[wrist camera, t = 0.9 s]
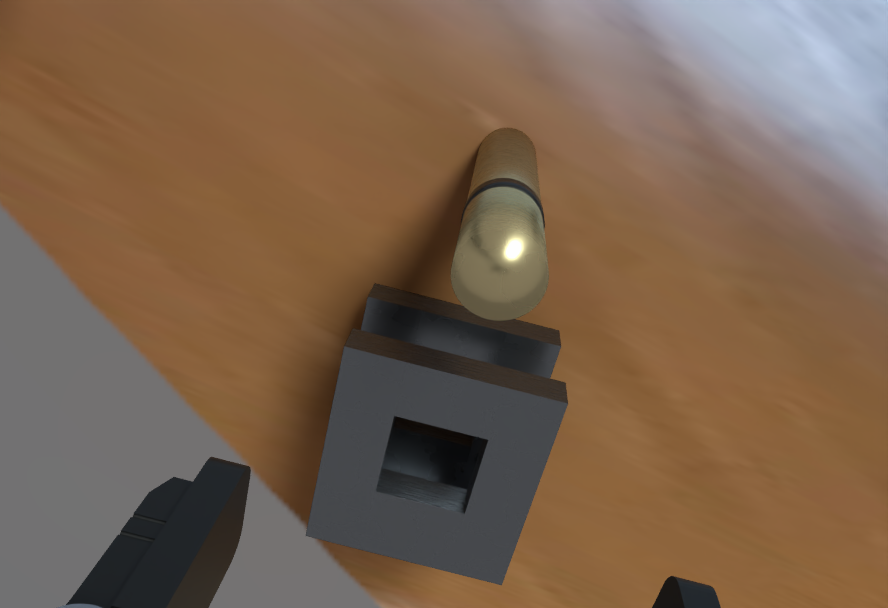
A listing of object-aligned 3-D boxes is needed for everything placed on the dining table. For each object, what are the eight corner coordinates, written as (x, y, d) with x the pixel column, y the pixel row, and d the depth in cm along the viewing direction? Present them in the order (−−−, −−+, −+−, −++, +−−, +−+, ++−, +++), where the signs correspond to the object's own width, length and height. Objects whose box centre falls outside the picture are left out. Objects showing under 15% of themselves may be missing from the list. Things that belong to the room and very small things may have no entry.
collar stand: (380, 270, 44) (344, 346, 34) (557, 316, 44) (567, 403, 35) (345, 432, 49) (305, 535, 39) (504, 472, 49) (501, 585, 40)
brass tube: (485, 120, 39) (462, 216, 23) (544, 135, 39) (563, 242, 23) (470, 177, 41) (438, 308, 24) (527, 192, 41) (533, 332, 24)
